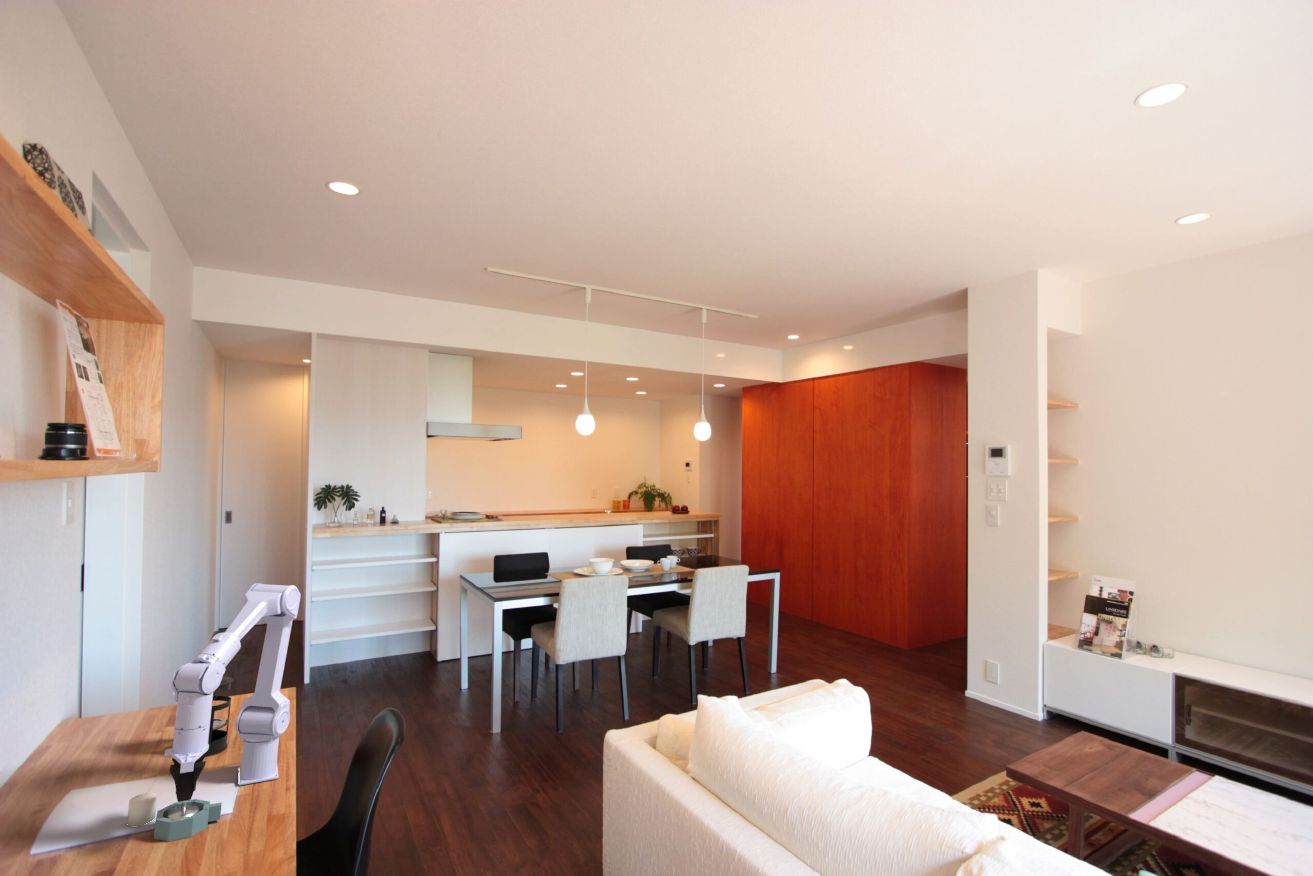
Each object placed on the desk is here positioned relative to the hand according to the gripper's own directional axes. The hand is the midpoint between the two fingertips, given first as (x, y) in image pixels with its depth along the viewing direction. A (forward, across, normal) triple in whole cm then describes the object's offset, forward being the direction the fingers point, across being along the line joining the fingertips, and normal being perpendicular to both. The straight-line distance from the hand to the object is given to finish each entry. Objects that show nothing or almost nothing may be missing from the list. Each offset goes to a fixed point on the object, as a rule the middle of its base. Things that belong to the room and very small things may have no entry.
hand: (185, 796), depth 125 cm
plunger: (+4, 0, 0) cm, 4 cm away
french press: (+6, -41, +2) cm, 42 cm away
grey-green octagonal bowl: (+6, 0, 0) cm, 6 cm away
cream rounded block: (+6, -7, -7) cm, 12 cm away
